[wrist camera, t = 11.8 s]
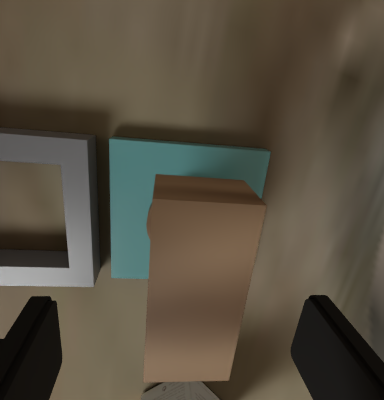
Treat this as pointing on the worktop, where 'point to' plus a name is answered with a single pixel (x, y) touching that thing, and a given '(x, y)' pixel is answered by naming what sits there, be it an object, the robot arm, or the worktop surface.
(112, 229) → the tile
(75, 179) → the socket
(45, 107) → the worktop surface
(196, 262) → the t-key
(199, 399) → the small box
